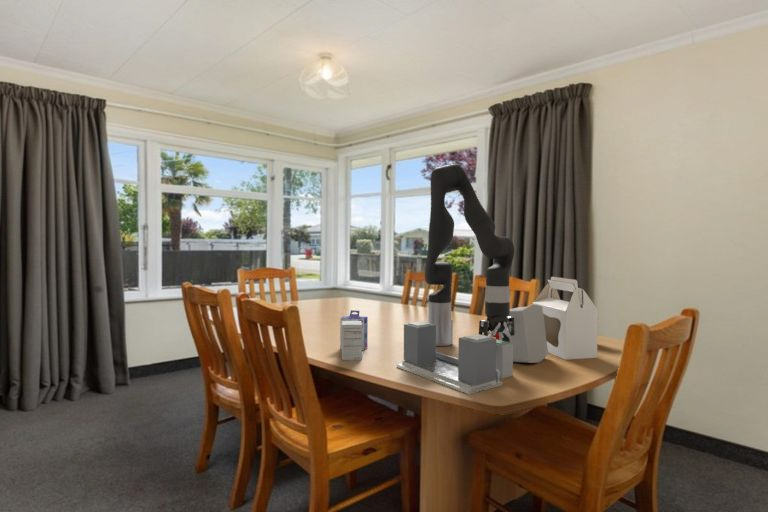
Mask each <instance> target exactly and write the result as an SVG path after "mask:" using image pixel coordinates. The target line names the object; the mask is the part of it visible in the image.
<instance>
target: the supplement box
mask: <svg viewBox="0 0 768 512" xmlns="http://www.w3.org/2000/svg"><path fill="white" fill-rule="evenodd" d="M341 342H342V349H341V360H342V361H361V360H363V350H362V322H361V321H342V325H341Z"/></svg>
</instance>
